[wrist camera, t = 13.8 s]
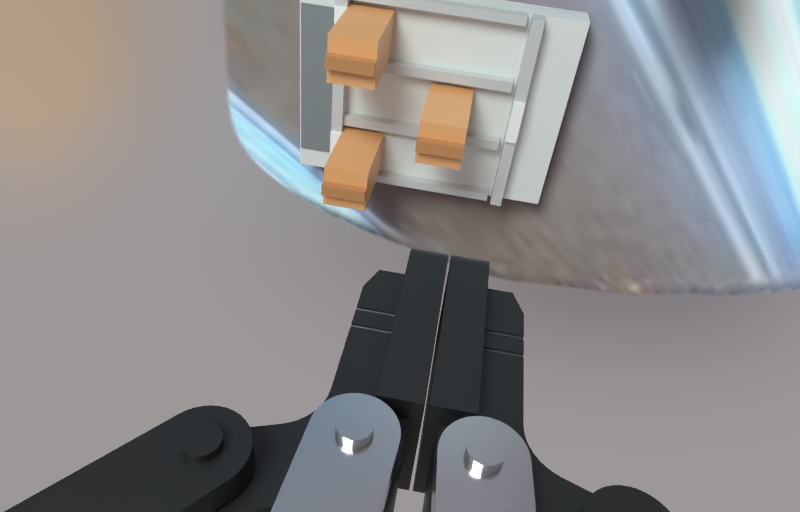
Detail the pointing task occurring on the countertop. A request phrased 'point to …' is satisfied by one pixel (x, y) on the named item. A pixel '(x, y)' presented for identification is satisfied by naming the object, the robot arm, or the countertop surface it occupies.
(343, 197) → the tab
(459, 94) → the tab
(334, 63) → the tab
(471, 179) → the switch bank
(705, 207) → the countertop surface
